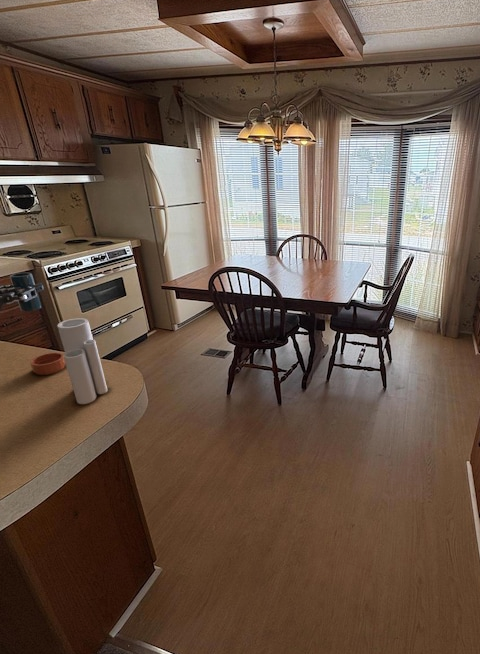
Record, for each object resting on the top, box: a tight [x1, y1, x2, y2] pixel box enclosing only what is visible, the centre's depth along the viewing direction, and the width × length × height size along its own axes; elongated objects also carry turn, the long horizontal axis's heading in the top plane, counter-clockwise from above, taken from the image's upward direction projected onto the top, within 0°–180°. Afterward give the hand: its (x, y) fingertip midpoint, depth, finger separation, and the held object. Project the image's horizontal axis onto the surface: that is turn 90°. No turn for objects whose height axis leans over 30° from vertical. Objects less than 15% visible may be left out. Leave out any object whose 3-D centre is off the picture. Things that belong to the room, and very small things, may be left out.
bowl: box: [29, 352, 66, 376], centre depth 105 cm, size 8×8×4 cm
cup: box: [9, 272, 42, 312], centre depth 96 cm, size 5×5×10 cm
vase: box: [56, 317, 108, 405], centre depth 91 cm, size 11×7×20 cm, turn 36°
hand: (33, 286), depth 98 cm, fingers closed on cup, 4 cm apart
